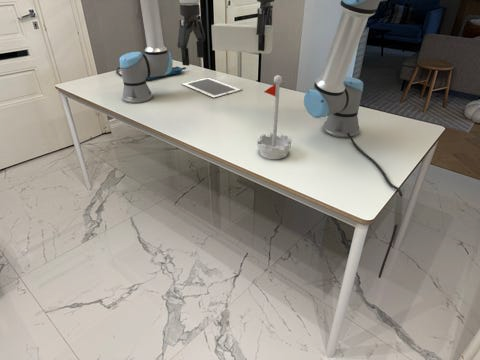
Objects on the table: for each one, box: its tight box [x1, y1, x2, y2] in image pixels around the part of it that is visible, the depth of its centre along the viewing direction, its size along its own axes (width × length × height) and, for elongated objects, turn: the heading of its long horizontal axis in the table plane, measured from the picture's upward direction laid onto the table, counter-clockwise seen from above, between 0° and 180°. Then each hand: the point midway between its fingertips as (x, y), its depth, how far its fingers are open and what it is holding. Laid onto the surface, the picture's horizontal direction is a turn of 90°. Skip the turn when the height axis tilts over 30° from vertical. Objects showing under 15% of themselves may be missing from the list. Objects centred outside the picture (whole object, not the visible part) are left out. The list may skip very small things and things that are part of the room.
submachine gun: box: [146, 66, 187, 81], centre depth 223 cm, size 34×4×25 cm
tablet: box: [181, 77, 242, 99], centre depth 200 cm, size 32×20×1 cm, turn 41°
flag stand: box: [256, 74, 292, 160], centre depth 125 cm, size 13×13×30 cm
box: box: [211, 22, 274, 55], centre depth 154 cm, size 27×6×11 cm, turn 73°
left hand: (193, 61), depth 141 cm, fingers open, 13 cm apart
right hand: (263, 48), depth 153 cm, fingers closed on box, 7 cm apart
